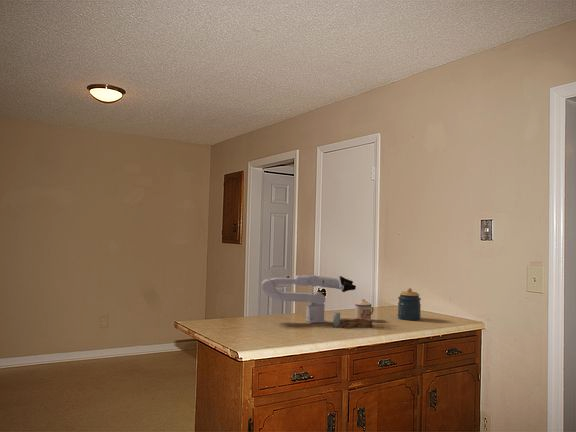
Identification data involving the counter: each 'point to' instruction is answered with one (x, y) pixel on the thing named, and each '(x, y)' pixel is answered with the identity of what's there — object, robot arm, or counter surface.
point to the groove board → (355, 322)
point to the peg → (336, 320)
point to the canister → (409, 305)
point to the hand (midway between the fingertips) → (354, 285)
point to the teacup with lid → (363, 310)
